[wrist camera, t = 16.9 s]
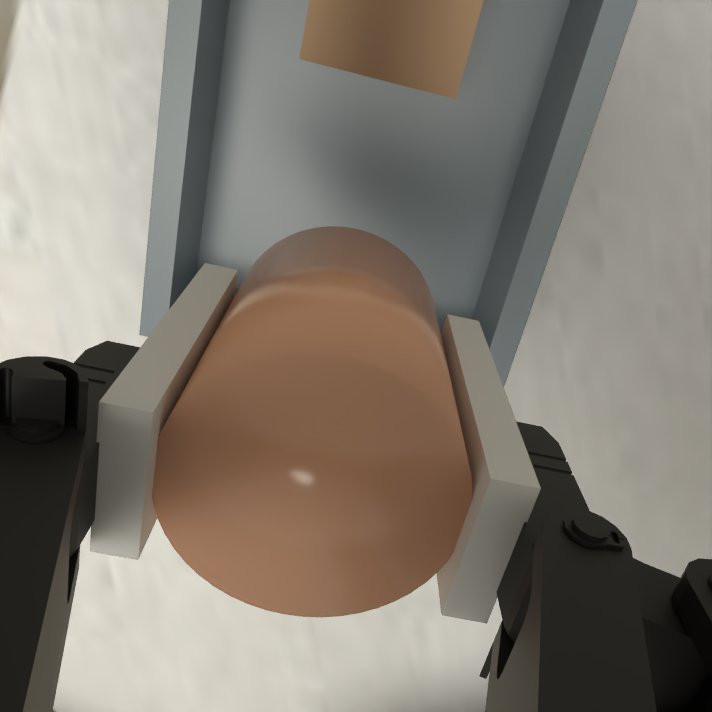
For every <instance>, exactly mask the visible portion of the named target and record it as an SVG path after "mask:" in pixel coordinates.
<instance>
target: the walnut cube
mask: <svg viewBox="0 0 712 712" xmlns="http://www.w3.org/2000/svg"><path fill="white" fill-rule="evenodd" d="M483 1H484V0H310V2H309V8H308V13H307V18H306V24H305V29H304V35H303V40H302V45H301V51H300V56H299V59H301V60H305V61H309V62H313V63H317V64H320V65H324V66H328V67H332V68H336V69H340V70H344V71H348V72H352V73H355V74H359V75H363V76H367V77H371V78H375V79H379V80H383V81H387V82H390V83H394V84H398V85H402V86H406V87H410V88H414V89H418V90H421V91H425V92H429V93H433V94H437V95H441V96H445V97H449V98H453V99H456V98H457V94H458V90H459V87H460V83H461V80H462V76H463V73H464V69H465V65H466V62H467V58H468V55H469V51H470V48H471V44H472V40H473V37H474V33H475V30H476V26H477V23H478V19H479V15H480V12H481V8H482V5H483Z"/></svg>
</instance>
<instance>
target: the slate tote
mask: <svg viewBox="0 0 712 712" xmlns="http://www.w3.org/2000/svg"><path fill="white" fill-rule="evenodd" d="M309 2H310V0H169V7H168V19H167V30H166V41H165V52H164V64H163V75H162V86H161V98H160V109H159V120H158V131H157V143H156V154H155V165H154V176H153V188H152V199H151V210H150V222H149V233H148V244H147V255H146V267H145V278H144V289H143V300H142V312H141V323H140V334H139V335H143V336H148V337H149V336H150V334H151V333H152V332H153V330H154V329H155V328H156V326H157V325H158V324H159V323H160V321H161V320H162V319H163V317H164V316H165V315H166V313H167V312H168V311H169V309H170V308H171V307H172V305H173V304H174V303H175V302H176V300H177V299H178V298H179V296H180V295H181V294H182V292H183V291H184V290H185V288H186V287H187V286H188V285H189V283H190V282H191V281H192V279H193V278H194V277H195V275H196V274H197V273H198V271H199V270H200V269H201V267H202V266H203V265H204V264H205V263H208V264H212V265H217V266H222V267H227V268H231V269H236V270H238V273H237V280H236V286H235V293H234V296H235V294H236V293H237V291H238V289H239V287H240V285H241V283H242V282H243V280H244V278H245V276H246V274H247V273H248V271H249V269H250V268H251V267H252V265H253V264H254V263H255V261H256V260H257V259H258V258H259V257H260V256H261V255H262V254H263V253H264V252H265V251H266V250H267V249H269V248H270V247H271V246H273V245H274V244H275V243H277V242H278V241H280V240H282V239H284V238H286V237H288V236H290V235H292V234H295V233H297V232H300V231H303V230H308V229H312V228H317V227H327V226H338V227H348V228H355V229H359V230H363V231H366V232H369V233H372V234H374V235H377V236H379V237H381V238H383V239H385V240H387V241H388V242H390V243H392V244H393V245H395V246H396V247H397V248H399V249H400V250H401V251H402V252H404V253H405V254H406V255H407V256H408V257H409V258H410V259H411V260H412V261H413V262H414V264H415V265H416V266H417V268H418V269H419V270H420V272H421V273H422V275H423V277H424V278H425V280H426V282H427V284H428V286H429V289H430V292H431V294H432V297H433V301H434V306H435V310H436V315H437V320H438V324H439V329H440V333H441V334H442V331H443V328H444V324H445V321H446V317H447V314H449V315H453V316H458V317H463V318H468V319H472V320H477V321H479V323H480V325H481V328H482V331H483V333H484V336H485V339H486V342H487V344H488V347H489V350H490V352H491V355H492V358H493V361H494V363H495V366H496V369H497V371H498V374H499V377H500V379H501V382H502V385H503V388H504V385H505V382H506V379H507V377H508V374H509V371H510V368H511V365H512V362H513V359H514V356H515V353H516V351H517V348H518V345H519V342H520V339H521V336H522V333H523V330H524V327H525V325H526V322H527V319H528V316H529V313H530V310H531V307H532V304H533V301H534V298H535V296H536V293H537V290H538V287H539V284H540V281H541V278H542V275H543V272H544V270H545V267H546V264H547V261H548V258H549V255H550V252H551V249H552V246H553V243H554V241H555V238H556V235H557V232H558V229H559V226H560V223H561V220H562V217H563V215H564V212H565V209H566V206H567V203H568V200H569V197H570V194H571V191H572V188H573V186H574V183H575V180H576V177H577V174H578V171H579V168H580V165H581V162H582V160H583V157H584V154H585V151H586V148H587V145H588V142H589V139H590V136H591V134H592V131H593V128H594V125H595V122H596V119H597V116H598V113H599V110H600V107H601V105H602V102H603V99H604V96H605V93H606V90H607V87H608V84H609V81H610V79H611V76H612V73H613V70H614V67H615V64H616V61H617V58H618V55H619V52H620V50H621V47H622V44H623V41H624V38H625V35H626V32H627V29H628V26H629V24H630V21H631V18H632V15H633V12H634V9H635V6H636V3H637V0H484V1H483V5H482V8H481V12H480V15H479V19H478V23H477V26H476V30H475V33H474V37H473V40H472V44H471V48H470V51H469V55H468V58H467V62H466V65H465V69H464V73H463V76H462V80H461V83H460V87H459V90H458V94H457V98H456V99H453V98H449V97H445V96H441V95H437V94H433V93H429V92H425V91H421V90H418V89H414V88H410V87H406V86H402V85H398V84H394V83H390V82H387V81H383V80H379V79H375V78H371V77H367V76H363V75H359V74H355V73H352V72H348V71H344V70H340V69H336V68H332V67H328V66H324V65H320V64H317V63H313V62H309V61H305V60H301V59H299V56H300V51H301V45H302V40H303V35H304V29H305V24H306V18H307V13H308V8H309Z"/></svg>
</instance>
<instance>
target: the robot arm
mask: <svg viewBox="0 0 712 712" xmlns="http://www.w3.org/2000/svg"><path fill="white" fill-rule="evenodd" d="M237 273H238V270H236V269H231V268H227V267H222V266H217V265H212V264H208V263H205V264H204V265H203V266H202V267H201V269H200V270H199V271H198V273H197V274H196V275H195V277H194V278H193V279H192V281H191V282H190V283H189V285H188V286H187V287H186V288H185V290H184V291H183V292H182V294H181V295H180V296H179V298H178V299H177V300H176V302H175V303H174V304H173V305H172V307H171V308H170V309H169V311H168V312H167V313H166V315H165V316H164V317H163V319H162V320H161V321H160V323H159V324H158V325H157V326H156V328H155V329H154V330H153V332H152V333H151V334H150V336H149V337H148V338H147V340H146V341H145V342H144V344H143V345H142V346H141V347H135V346H130V345H125V344H120V343H115V342H110V341H106V342H104V343H101V344H99V345H96V346H94V347H92V348H89V349H87V350H85V351H84V352H83V354H82V355H81V356H80V357H79V358H78V359H77V360H76V361H75V362H74V363H71V362H69V361H66V360H63V359H58V358H52V357H21V358H15V359H10V360H6V361H4V362H2V363H0V712H52V710H53V705H54V699H55V694H56V688H57V683H58V678H59V672H60V667H61V661H62V656H63V651H64V645H65V640H66V634H67V629H68V624H69V618H70V613H71V607H72V602H73V596H74V591H75V586H76V580H77V575H78V569H79V553H80V544H81V542H82V540H83V539H84V537H85V535H86V534H87V532H88V530H89V528H90V527H91V539H90V551H91V552H97V553H103V554H108V555H114V556H119V557H125V558H130V559H136V560H138V559H139V557H140V555H141V552H142V550H143V548H144V546H145V544H146V541H147V539H148V537H149V535H150V533H151V530H152V528H153V526H154V524H155V522H156V519H157V514H156V511H155V507H154V504H153V499H152V491H153V481H154V472H155V462H156V453H157V443H158V438H159V435H160V433H161V431H162V429H163V427H164V425H165V423H166V421H167V420H168V418H169V416H170V414H171V412H172V410H173V409H174V407H175V405H176V403H177V401H178V399H179V398H180V396H181V394H182V392H183V390H184V388H185V386H186V385H187V383H188V381H189V379H190V377H191V375H192V374H193V372H194V370H195V368H196V366H197V364H198V363H199V361H200V359H201V357H202V355H203V353H204V351H205V350H206V348H207V346H208V344H209V342H210V340H211V339H212V337H213V335H214V333H215V331H216V329H217V328H218V326H219V324H220V322H221V320H222V318H223V317H224V315H225V313H226V311H227V309H228V307H229V305H230V304H231V302H232V300H233V298H234V293H235V286H236V280H237ZM441 338H442V342H443V347H444V351H445V356H446V361H447V365H448V370H449V374H450V379H451V383H452V388H453V393H454V397H455V402H456V406H457V411H458V415H459V420H460V425H461V429H462V434H463V438H464V443H465V447H466V452H467V457H468V461H469V466H470V471H471V476H472V492H473V496H472V502H471V504H470V507H469V510H468V513H467V516H466V519H465V521H464V524H463V527H462V530H461V533H460V536H459V538H458V541H457V544H456V547H455V550H454V552H453V554H452V555H451V557H450V558H449V559H448V561H447V562H446V563H445V564H444V565H443V566H442V568H441V569H440V570H439V571H438V572H437V579H438V588H439V596H440V605H441V613H442V615H444V616H449V617H455V618H460V619H466V620H471V621H477V622H482V623H487V622H488V619H489V617H490V614H491V612H492V609H493V607H494V604H495V602H496V599H497V597H498V601H499V606H500V610H501V615H502V619H503V620H502V622H501V625H500V627H499V630H498V632H497V635H496V637H495V639H494V642H493V644H492V647H491V649H490V652H489V654H488V656H487V659H486V661H485V664H484V666H483V668H482V671H481V673H480V677H483V678H485V679H486V678H487V676H488V674H489V672H490V675H489V683H488V692H487V700H486V709H485V712H712V559H696V560H694V561H692V562H689V563H688V565H687V567H686V569H685V571H684V573H683V574H682V576H681V578H679V577H677V576H674V575H672V574H669V573H667V572H664V571H662V570H659V569H657V568H654V567H652V566H649V565H647V564H644V563H642V562H640V561H638V560H636V559H634V558H633V557H632V550H631V547H630V545H629V543H628V540H627V538H626V537H625V536H624V535H623V534H622V532H621V531H620V530H619V529H618V528H617V527H616V526H615V525H613V524H612V523H610V522H609V521H607V520H606V519H604V518H603V517H601V516H599V515H597V514H595V513H592V512H590V511H589V508H588V506H587V504H586V502H585V500H584V497H583V495H582V493H581V491H580V489H579V487H578V484H577V482H576V480H575V478H574V476H573V475H571V474H572V471H571V469H570V467H569V465H568V462H565V461H566V458H565V456H564V454H563V451H562V449H561V447H560V445H559V443H558V442H557V441H556V440H555V439H554V438H553V437H552V436H551V435H550V434H549V433H548V432H547V431H546V430H545V429H544V428H543V427H540V426H535V425H530V424H525V423H520V422H516V420H515V417H514V415H513V412H512V409H511V406H510V404H509V401H508V398H507V396H506V393H505V390H504V388H503V385H502V382H501V379H500V377H499V374H498V371H497V369H496V366H495V363H494V361H493V358H492V355H491V352H490V350H489V347H488V344H487V342H486V339H485V336H484V333H483V331H482V328H481V325H480V323H479V321H477V320H472V319H468V318H463V317H458V316H453V315H449V314H447V317H446V321H445V324H444V328H443V331H442V334H441Z"/></svg>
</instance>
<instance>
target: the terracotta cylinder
mask: <svg viewBox="0 0 712 712" xmlns="http://www.w3.org/2000/svg"><path fill="white" fill-rule="evenodd" d="M472 496H473V492H472V476H471V471H470V466H469V461H468V457H467V452H466V447H465V443H464V438H463V434H462V429H461V425H460V420H459V415H458V411H457V406H456V402H455V397H454V393H453V388H452V383H451V379H450V374H449V370H448V365H447V361H446V356H445V351H444V347H443V342H442V338H441V333H440V329H439V324H438V320H437V315H436V310H435V306H434V301H433V297H432V294H431V292H430V289H429V286H428V284H427V282H426V280H425V278H424V277H423V275H422V273H421V272H420V270H419V269H418V268H417V266H416V265H415V264H414V262H413V261H412V260H411V259H410V258H409V257H408V256H407V255H406V254H405V253H404V252H402V251H401V250H400V249H399V248H397V247H396V246H395V245H393V244H392V243H390V242H388V241H387V240H385V239H383V238H381V237H379V236H377V235H374V234H372V233H369V232H366V231H363V230H359V229H355V228H348V227H338V226H327V227H317V228H312V229H308V230H303V231H300V232H297V233H295V234H292V235H290V236H288V237H286V238H284V239H282V240H280V241H278V242H277V243H275V244H274V245H273V246H271V247H270V248H269V249H267V250H266V251H265V252H264V253H263V254H262V255H261V256H260V257H259V258H258V259H257V260H256V261H255V263H254V264H253V265H252V267H251V268H250V269H249V271H248V273H247V274H246V276H245V278H244V280H243V282H242V283H241V285H240V287H239V289H238V291H237V293H236V294H235V296H234V298H233V300H232V302H231V304H230V305H229V307H228V309H227V311H226V313H225V315H224V317H223V318H222V320H221V322H220V324H219V326H218V328H217V329H216V331H215V333H214V335H213V337H212V339H211V340H210V342H209V344H208V346H207V348H206V350H205V351H204V353H203V355H202V357H201V359H200V361H199V363H198V364H197V366H196V368H195V370H194V372H193V374H192V375H191V377H190V379H189V381H188V383H187V385H186V386H185V388H184V390H183V392H182V394H181V396H180V398H179V399H178V401H177V403H176V405H175V407H174V409H173V410H172V412H171V414H170V416H169V418H168V420H167V421H166V423H165V425H164V427H163V429H162V431H161V433H160V435H159V438H158V443H157V453H156V462H155V472H154V481H153V491H152V499H153V504H154V507H155V511H156V514H157V518H158V520H159V522H160V524H161V527H162V529H163V531H164V533H165V535H166V536H167V538H168V540H169V541H170V543H171V544H172V546H173V548H174V549H175V550H176V551H177V553H178V554H179V555H180V556H181V557H182V559H183V560H184V561H185V562H186V563H187V564H188V565H189V566H190V567H191V568H192V569H193V570H194V571H195V572H196V573H197V574H198V575H200V576H201V577H202V578H204V579H205V580H206V581H208V582H209V583H210V584H212V585H213V586H214V587H216V588H218V589H219V590H221V591H223V592H225V593H226V594H228V595H230V596H232V597H234V598H236V599H238V600H240V601H243V602H245V603H247V604H250V605H253V606H256V607H259V608H262V609H265V610H269V611H273V612H277V613H282V614H288V615H295V616H303V617H332V616H344V615H350V614H356V613H361V612H365V611H368V610H372V609H376V608H379V607H381V606H384V605H386V604H389V603H392V602H394V601H396V600H398V599H400V598H402V597H404V596H406V595H408V594H409V593H411V592H413V591H414V590H416V589H417V588H418V587H420V586H421V585H423V584H424V583H426V582H427V581H428V580H429V579H430V578H431V577H432V576H434V575H435V574H436V573H437V572H438V571H439V570H440V569H441V568H442V566H443V565H444V564H445V563H446V562H447V561H448V559H449V558H450V557H451V555H452V554H453V552H454V550H455V547H456V544H457V541H458V538H459V536H460V533H461V530H462V527H463V524H464V521H465V519H466V516H467V513H468V510H469V507H470V504H471V502H472Z"/></svg>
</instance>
